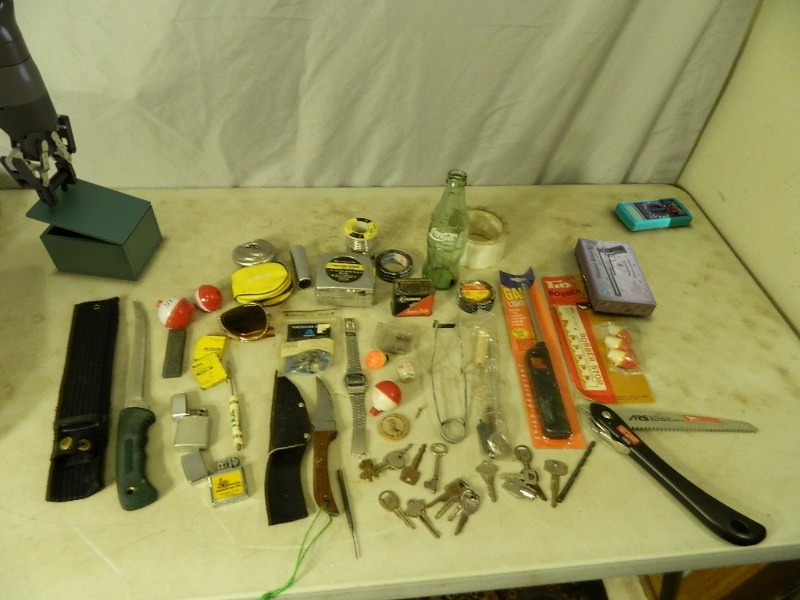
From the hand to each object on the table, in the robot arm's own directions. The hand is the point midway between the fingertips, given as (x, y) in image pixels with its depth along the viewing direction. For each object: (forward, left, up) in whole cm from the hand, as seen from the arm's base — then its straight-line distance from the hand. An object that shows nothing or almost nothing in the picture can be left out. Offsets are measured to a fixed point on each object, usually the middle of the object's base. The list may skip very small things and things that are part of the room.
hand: (61, 192), depth 85 cm
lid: (+4, +1, -3) cm, 5 cm away
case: (+4, +1, -13) cm, 13 cm away
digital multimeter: (+102, +43, -13) cm, 111 cm away
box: (+92, +20, -13) cm, 95 cm away
